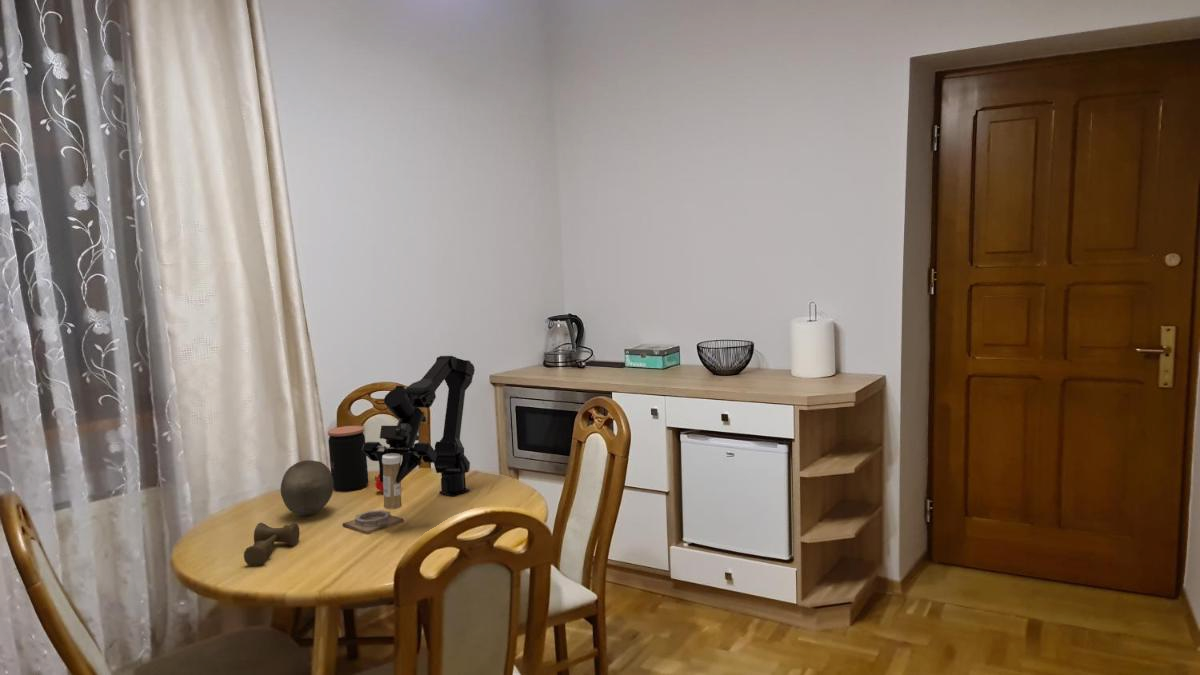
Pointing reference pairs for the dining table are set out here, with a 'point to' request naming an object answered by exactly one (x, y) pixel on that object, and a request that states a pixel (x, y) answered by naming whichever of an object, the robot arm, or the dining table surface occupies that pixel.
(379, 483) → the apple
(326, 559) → the dining table surface
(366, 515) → the hub seat
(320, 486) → the dark grey ball
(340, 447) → the coffee jar
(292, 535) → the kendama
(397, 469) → the sprinkles bottle
